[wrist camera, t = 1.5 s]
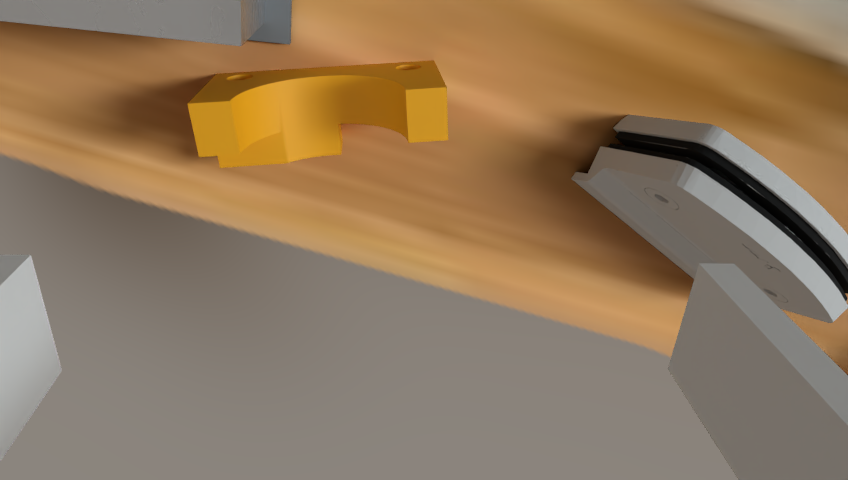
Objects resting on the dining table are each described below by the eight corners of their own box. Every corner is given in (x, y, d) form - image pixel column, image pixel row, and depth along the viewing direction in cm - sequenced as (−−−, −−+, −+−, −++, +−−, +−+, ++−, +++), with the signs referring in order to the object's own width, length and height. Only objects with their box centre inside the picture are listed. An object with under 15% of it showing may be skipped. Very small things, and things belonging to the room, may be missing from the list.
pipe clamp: (231, 148, 37) (206, 190, 31) (217, 73, 35) (187, 103, 29) (436, 134, 37) (448, 173, 32) (433, 59, 35) (446, 87, 30)
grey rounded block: (566, 175, 39) (673, 193, 30) (609, 112, 39) (729, 110, 30) (730, 308, 45) (863, 360, 35) (767, 254, 45) (910, 290, 35)
